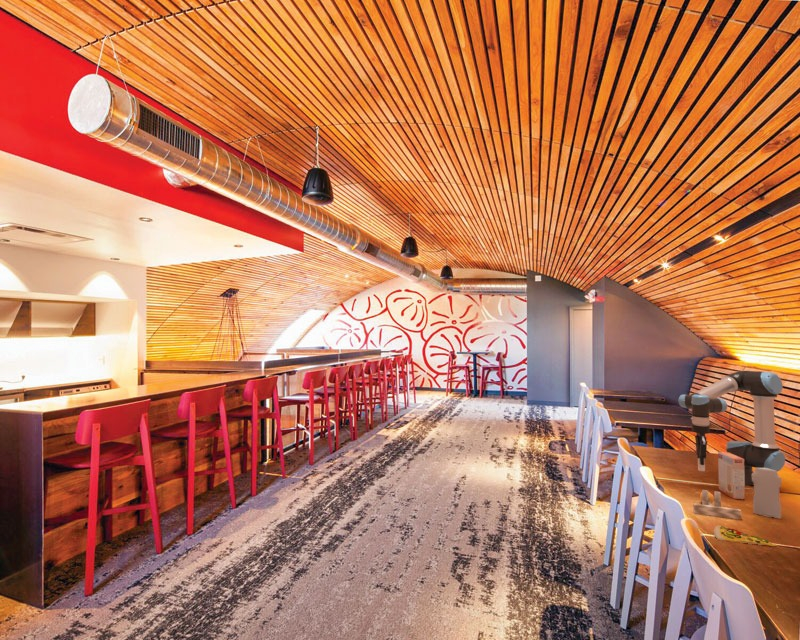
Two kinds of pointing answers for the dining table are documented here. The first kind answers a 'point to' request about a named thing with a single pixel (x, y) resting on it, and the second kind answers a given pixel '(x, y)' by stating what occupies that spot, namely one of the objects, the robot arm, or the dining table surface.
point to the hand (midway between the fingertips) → (701, 470)
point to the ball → (710, 497)
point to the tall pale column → (766, 492)
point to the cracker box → (731, 475)
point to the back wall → (717, 511)
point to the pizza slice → (738, 536)
